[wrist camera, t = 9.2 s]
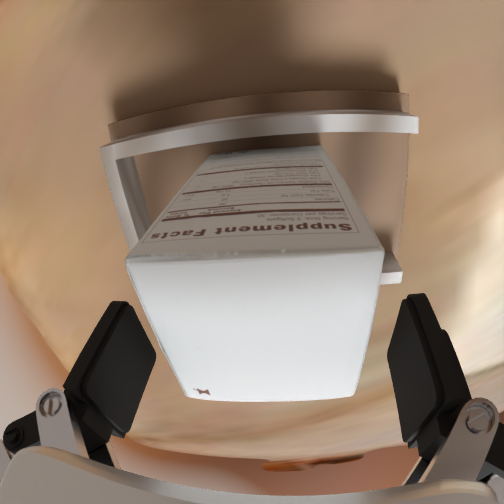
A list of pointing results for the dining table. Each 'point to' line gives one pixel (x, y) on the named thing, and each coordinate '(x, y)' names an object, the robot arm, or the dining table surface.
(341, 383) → the supplement box
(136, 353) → the robot arm
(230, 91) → the dining table surface
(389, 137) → the board
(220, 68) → the dining table surface
